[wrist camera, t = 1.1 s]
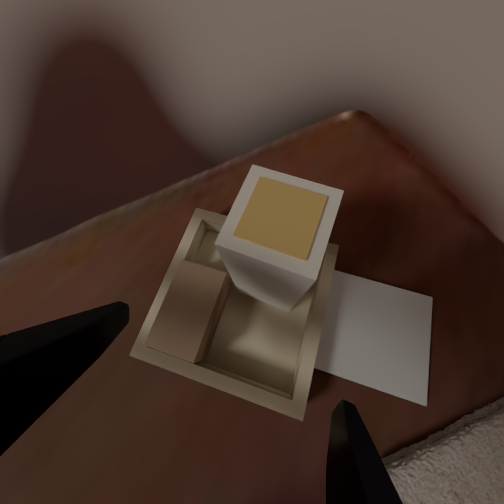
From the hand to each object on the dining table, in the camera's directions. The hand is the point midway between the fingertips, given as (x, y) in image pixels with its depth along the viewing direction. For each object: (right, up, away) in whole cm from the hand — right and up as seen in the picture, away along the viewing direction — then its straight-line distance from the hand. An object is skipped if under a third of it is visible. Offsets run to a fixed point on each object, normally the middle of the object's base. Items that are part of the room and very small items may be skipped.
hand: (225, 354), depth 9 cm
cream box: (+3, +1, +14) cm, 14 cm away
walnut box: (-4, -2, +13) cm, 13 cm away
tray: (0, -1, +14) cm, 14 cm away
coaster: (+12, -3, +12) cm, 17 cm away
